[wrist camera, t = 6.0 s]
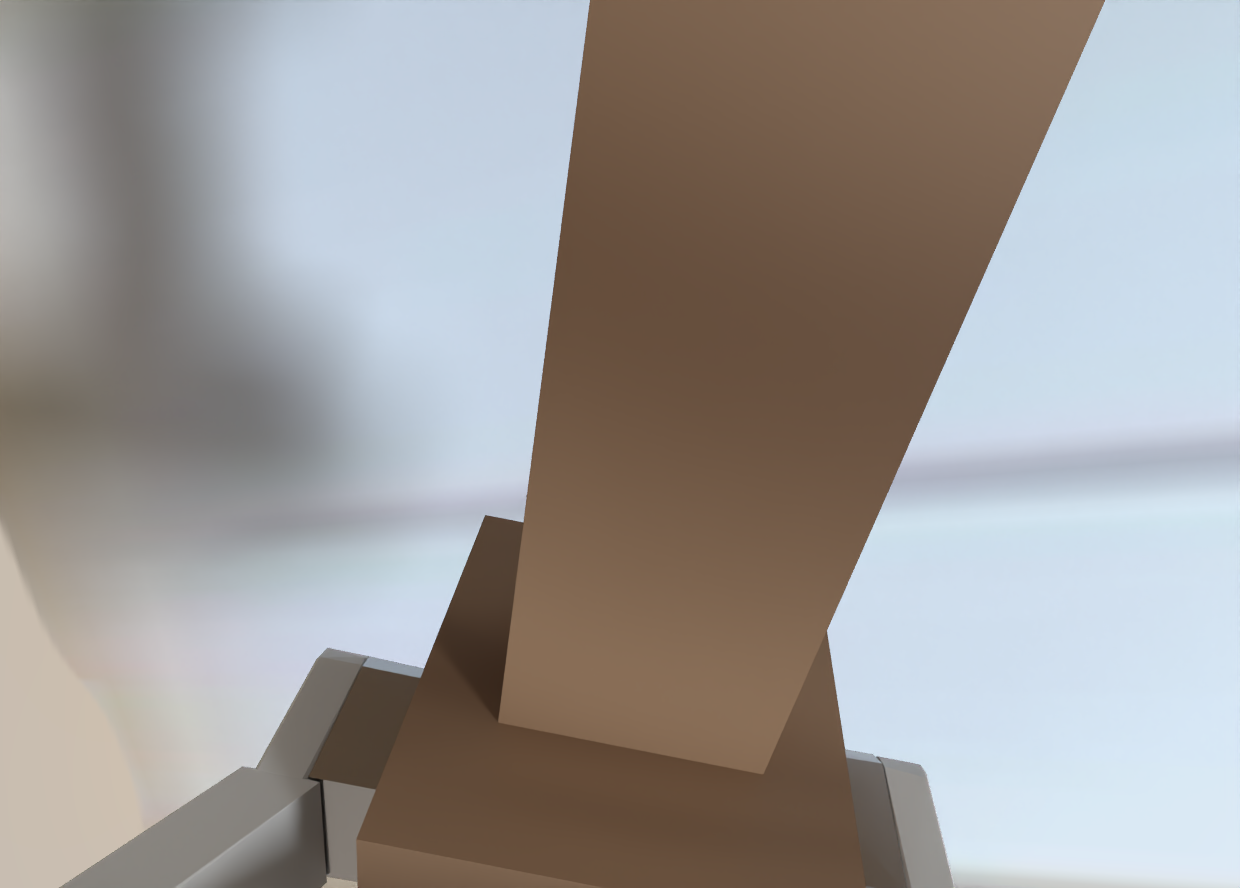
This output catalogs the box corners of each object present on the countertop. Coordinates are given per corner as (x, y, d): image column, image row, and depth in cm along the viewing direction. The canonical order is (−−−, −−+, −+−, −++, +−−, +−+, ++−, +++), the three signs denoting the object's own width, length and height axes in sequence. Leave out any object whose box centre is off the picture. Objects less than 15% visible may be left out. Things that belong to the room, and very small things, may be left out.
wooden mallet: (736, 781, 12) (742, 1125, 8) (465, 728, 12) (363, 1051, 8) (1121, -150, 6) (1726, -270, 2) (556, -261, 6) (312, -552, 2)
